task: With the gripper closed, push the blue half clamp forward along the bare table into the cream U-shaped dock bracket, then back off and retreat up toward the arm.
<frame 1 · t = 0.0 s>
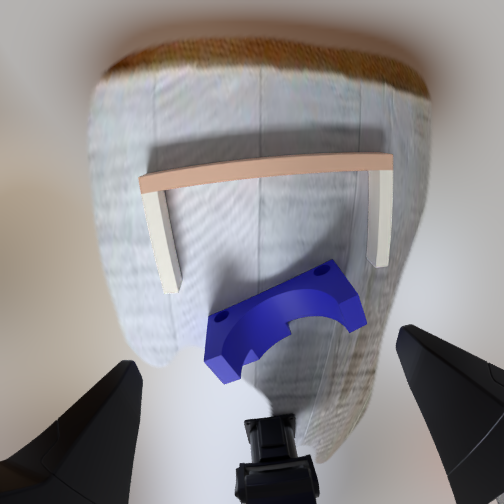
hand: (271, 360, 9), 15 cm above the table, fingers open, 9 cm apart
blue half clamp: (278, 306, 26), on the table
dock bracket: (274, 223, 22), on the table
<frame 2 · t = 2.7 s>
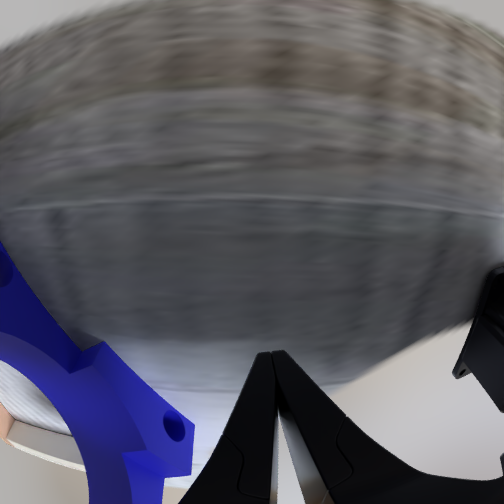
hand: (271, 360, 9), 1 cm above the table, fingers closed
blue half clamp: (75, 350, 10), on the table
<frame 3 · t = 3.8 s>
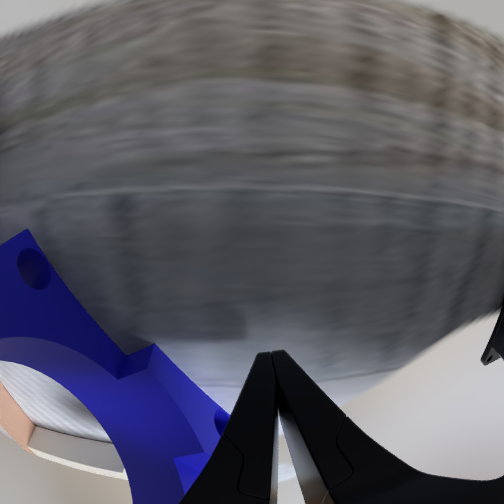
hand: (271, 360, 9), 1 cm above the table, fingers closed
blue half clamp: (117, 354, 10), on the table
dock bracket: (7, 342, 9), on the table
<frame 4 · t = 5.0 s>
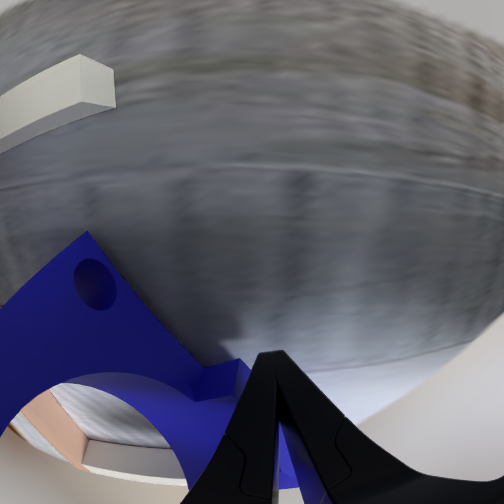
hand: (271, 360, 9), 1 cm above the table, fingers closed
blue half clamp: (189, 368, 10), on the table, touching gripper
dock bracket: (79, 347, 9), on the table
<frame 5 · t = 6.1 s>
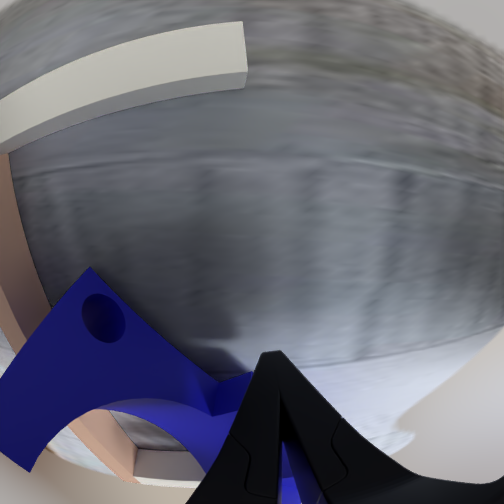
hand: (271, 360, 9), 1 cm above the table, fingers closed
blue half clamp: (205, 383, 10), on the table, touching dock bracket, gripper
dock bracket: (158, 350, 10), on the table
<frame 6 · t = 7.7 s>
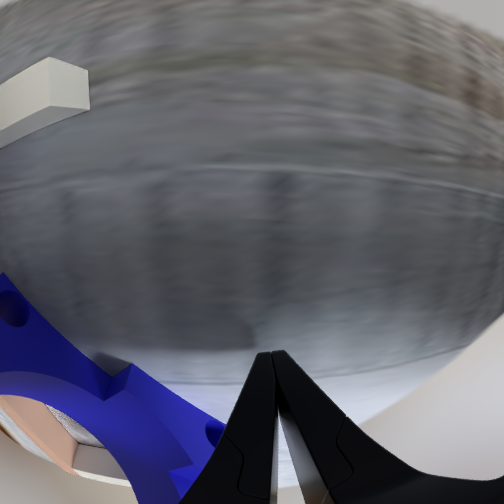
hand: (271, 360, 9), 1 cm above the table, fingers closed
blue half clamp: (106, 377, 10), on the table
dock bracket: (63, 353, 9), on the table
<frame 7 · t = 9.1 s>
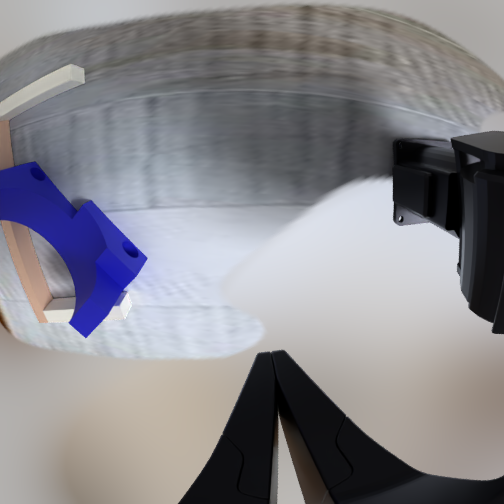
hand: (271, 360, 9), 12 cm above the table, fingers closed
blue half clamp: (77, 219, 18), on the table
dock bracket: (57, 202, 17), on the table
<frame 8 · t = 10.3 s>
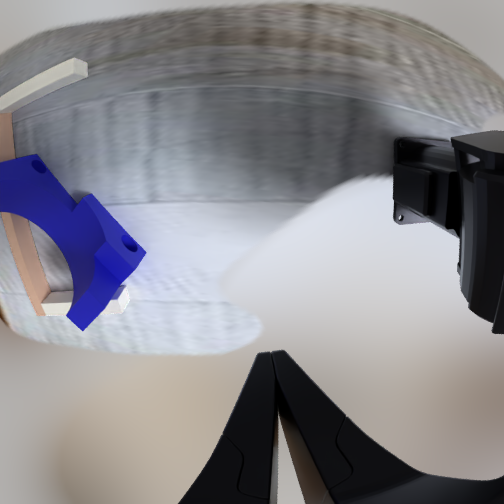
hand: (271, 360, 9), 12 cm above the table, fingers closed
blue half clamp: (77, 213, 18), on the table
dock bracket: (57, 195, 17), on the table
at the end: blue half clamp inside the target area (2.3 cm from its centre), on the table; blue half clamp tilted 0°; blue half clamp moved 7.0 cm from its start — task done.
